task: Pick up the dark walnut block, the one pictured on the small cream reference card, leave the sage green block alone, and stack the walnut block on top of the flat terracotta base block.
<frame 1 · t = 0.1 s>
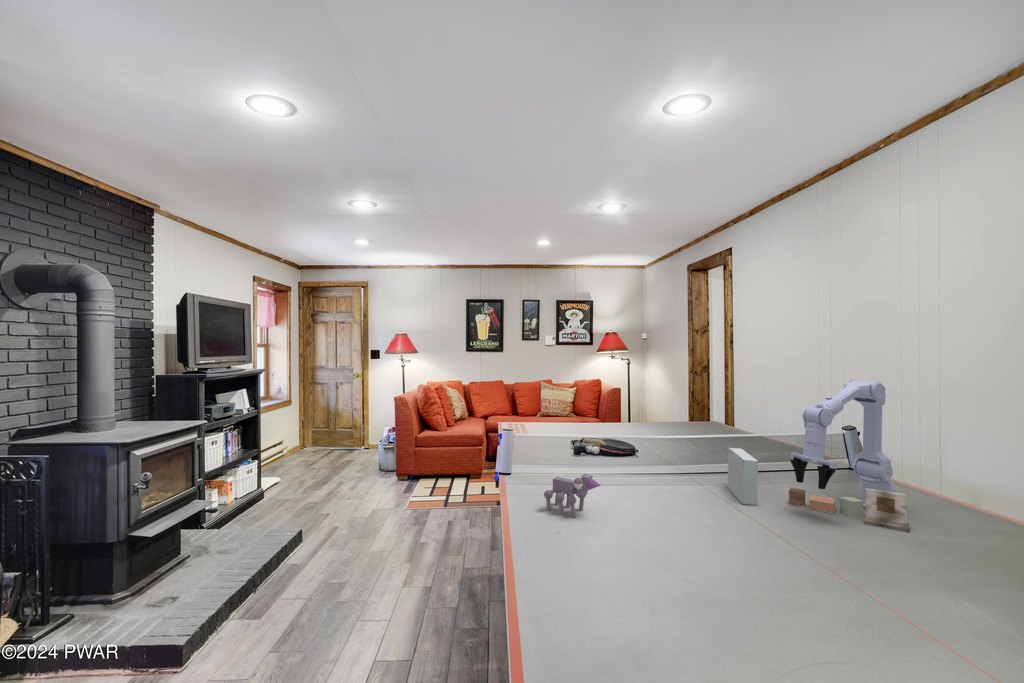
hand: (810, 485, 151), 10 cm above the table, tool pointing down, fingers open, 7 cm apart
walnut block: (797, 504, 163), on the table
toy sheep: (574, 513, 156), on the table
base block: (822, 509, 159), on the table
reference card: (885, 524, 144), on the table
skincare box: (742, 496, 173), on the table
sage block: (851, 514, 154), on the table
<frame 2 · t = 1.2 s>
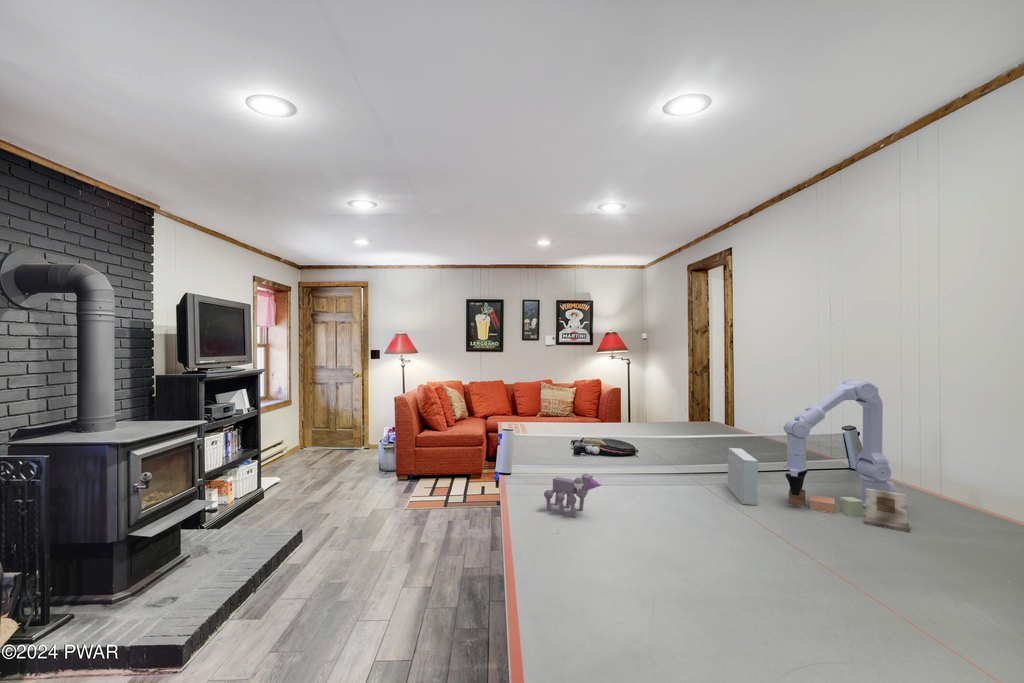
hand: (796, 492, 163), 4 cm above the table, tool pointing down, fingers open, 7 cm apart
nothing on the table moved.
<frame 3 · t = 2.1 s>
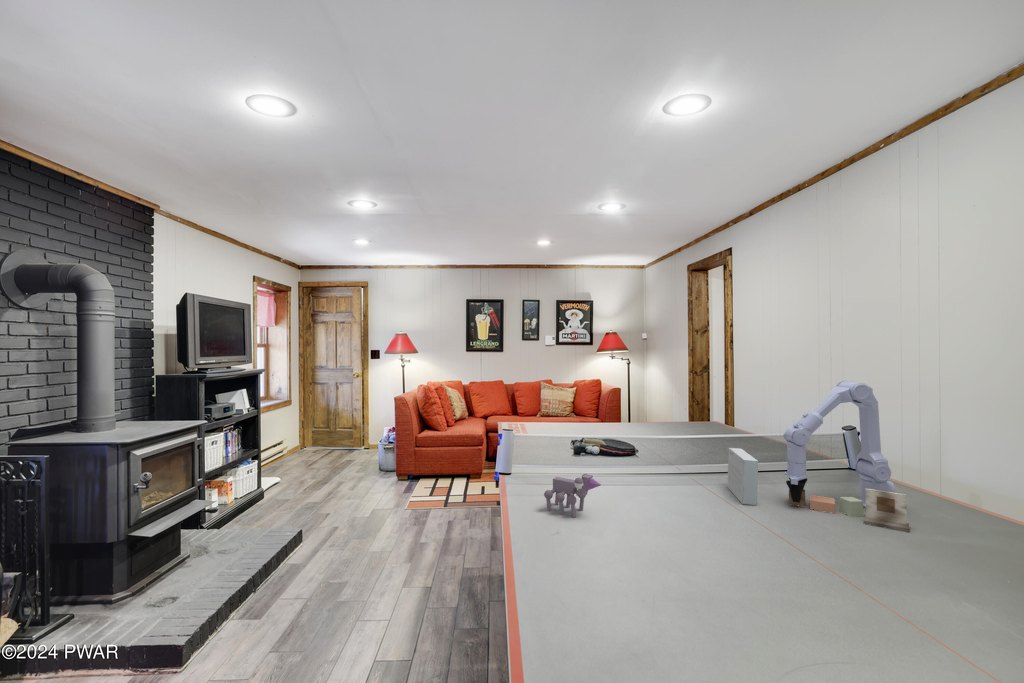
hand: (797, 500, 163), 1 cm above the table, tool pointing down, fingers closed on walnut block, 4 cm apart
walnut block: (797, 504, 163), on the table, touching gripper
everything else where it was.
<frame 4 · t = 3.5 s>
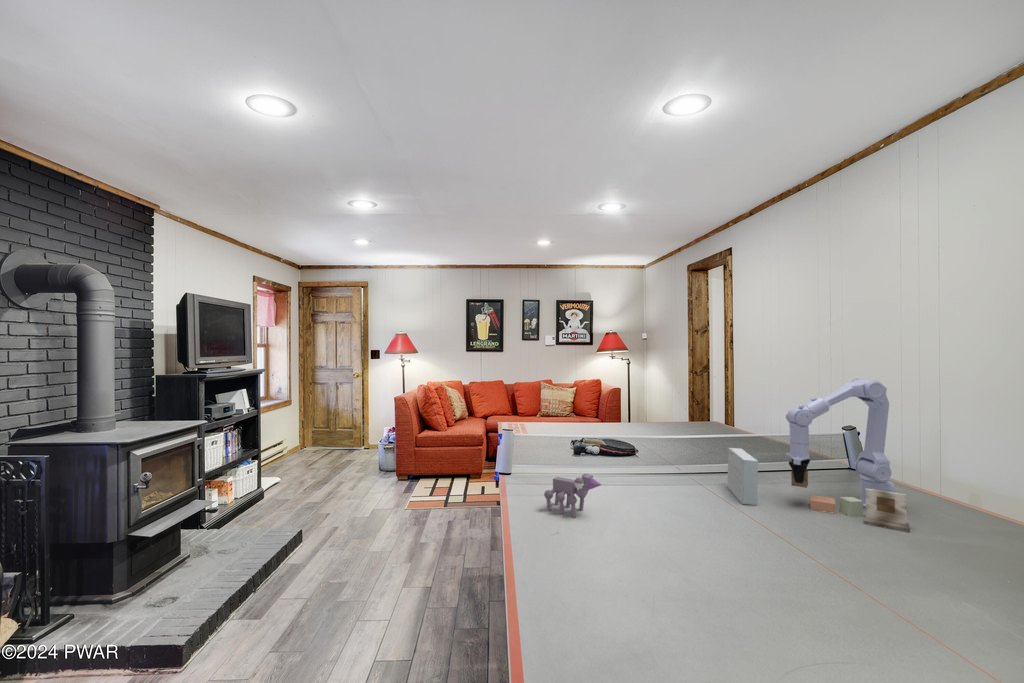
hand: (799, 480, 163), 8 cm above the table, tool pointing down, fingers closed on walnut block, 4 cm apart
walnut block: (799, 485, 163), point 7 cm above the table, touching gripper
everything else where it was.
when the fingers open (6 cm above the table, at t = 4.9 s): walnut block drops 1 cm, point 3 cm above the table.
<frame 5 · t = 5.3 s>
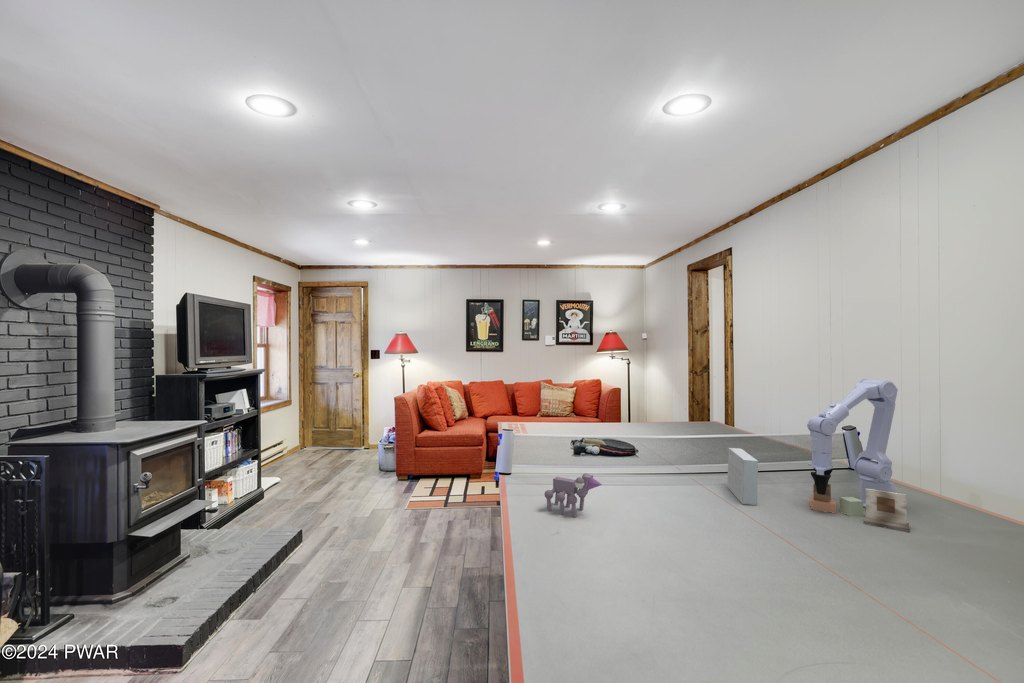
hand: (822, 491, 159), 6 cm above the table, tool pointing down, fingers open, 7 cm apart
walnut block: (822, 499, 159), point 3 cm above the table
everything else where it was.
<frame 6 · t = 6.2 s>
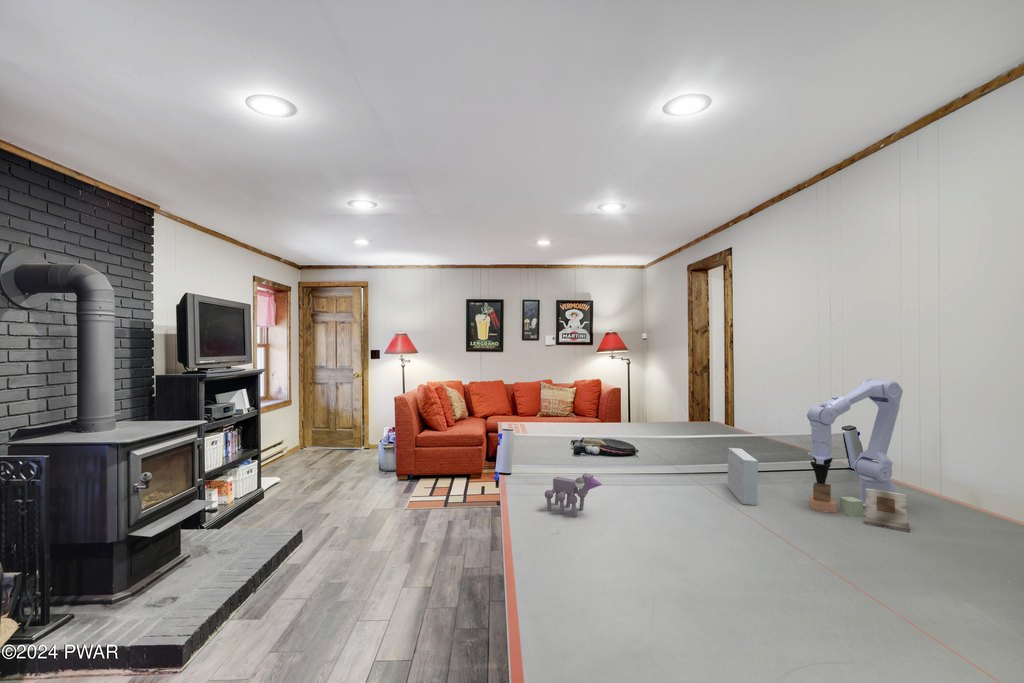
hand: (821, 480, 159), 9 cm above the table, tool pointing down, fingers open, 7 cm apart
walnut block: (822, 499, 159), point 3 cm above the table, touching base block
base block: (822, 509, 159), on the table, touching walnut block
everything else where it was.
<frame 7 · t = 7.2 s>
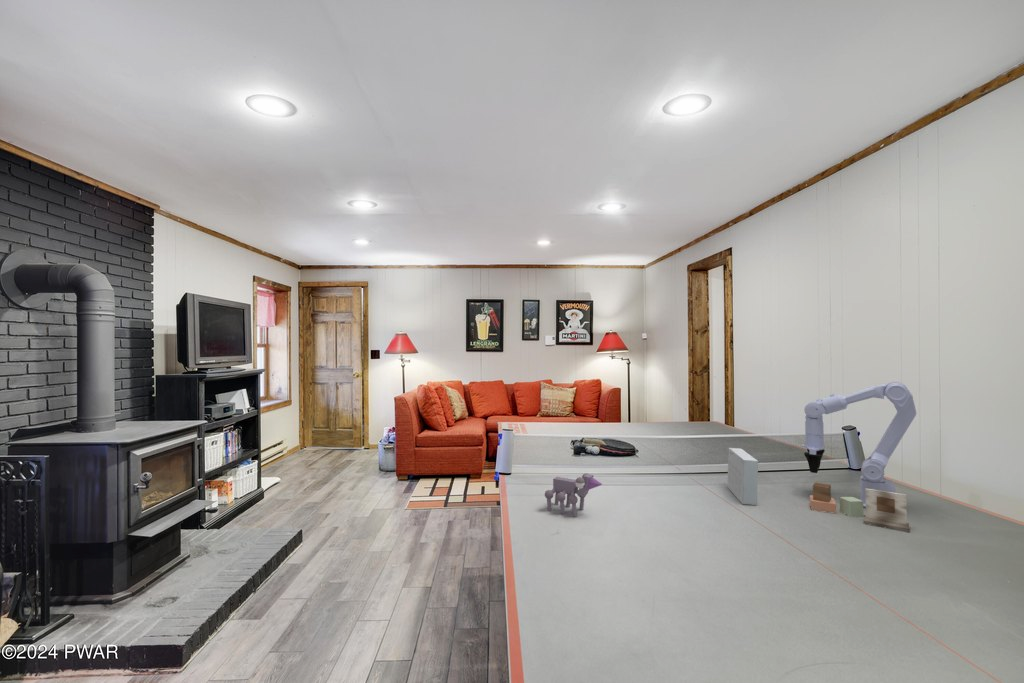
hand: (814, 470, 173), 9 cm above the table, tool pointing down, fingers open, 7 cm apart
nothing on the table moved.
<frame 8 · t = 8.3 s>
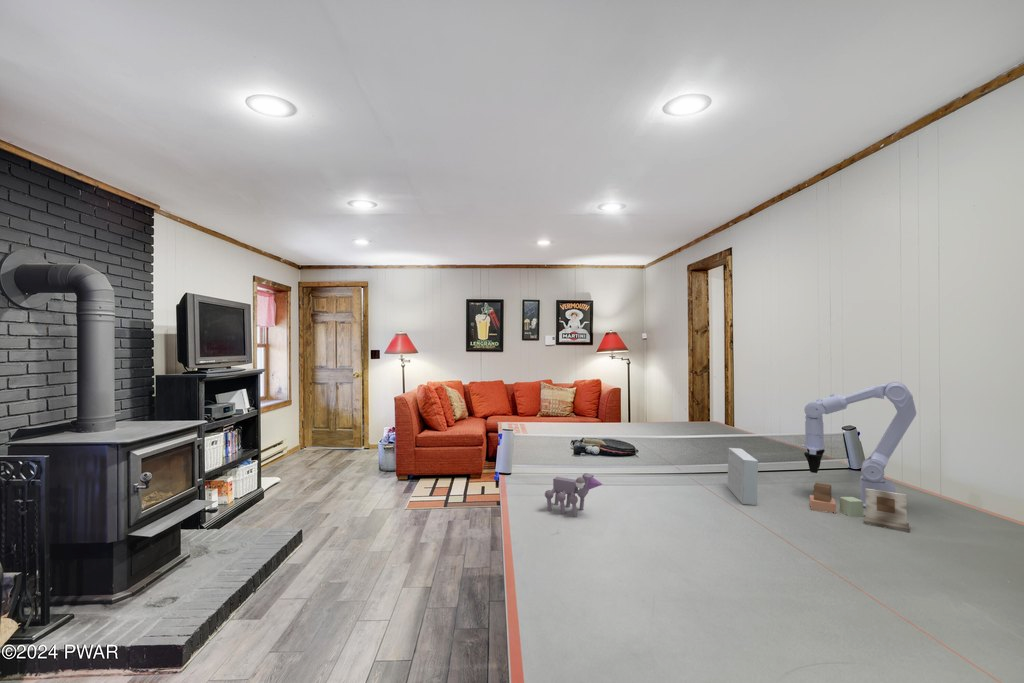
hand: (814, 470, 173), 9 cm above the table, tool pointing down, fingers open, 7 cm apart
nothing on the table moved.
at the end: walnut block 0.1 cm off-centre on the base block, point 3.5 cm above the base block's base; walnut block tilted 0°; sage block moved 0.1 cm from its start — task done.
